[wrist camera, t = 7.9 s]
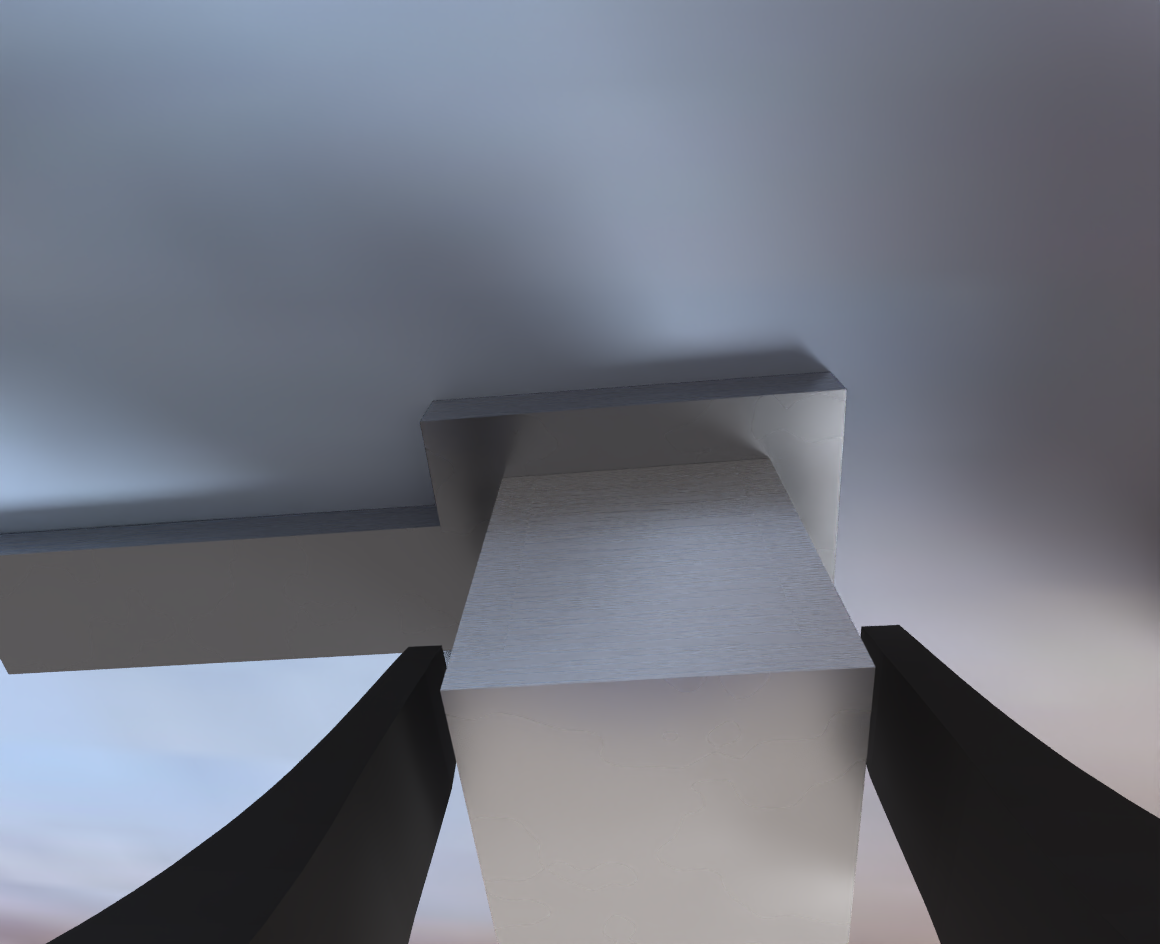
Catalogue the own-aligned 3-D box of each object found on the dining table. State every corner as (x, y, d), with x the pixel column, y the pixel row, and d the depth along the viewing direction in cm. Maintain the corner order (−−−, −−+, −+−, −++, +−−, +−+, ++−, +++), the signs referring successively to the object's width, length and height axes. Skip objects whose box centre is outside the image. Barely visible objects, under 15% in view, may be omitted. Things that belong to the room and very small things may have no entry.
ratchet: (828, 369, 14) (908, 454, 11) (811, 684, 18) (867, 834, 14) (-67, 439, 16) (-283, 538, 12) (75, 720, 19) (-57, 867, 15)
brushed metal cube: (769, 458, 14) (875, 666, 8) (766, 671, 16) (848, 944, 11) (502, 477, 14) (440, 690, 9) (534, 682, 16) (499, 954, 11)
